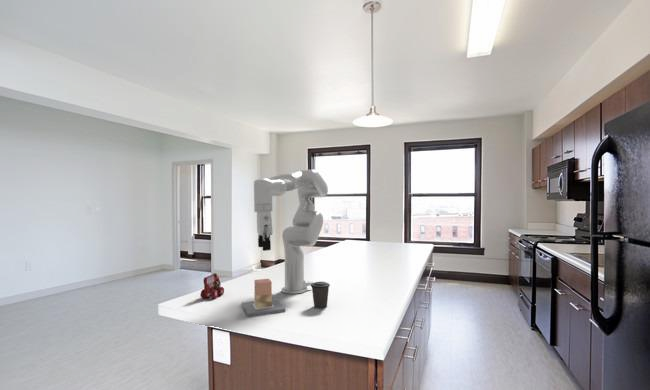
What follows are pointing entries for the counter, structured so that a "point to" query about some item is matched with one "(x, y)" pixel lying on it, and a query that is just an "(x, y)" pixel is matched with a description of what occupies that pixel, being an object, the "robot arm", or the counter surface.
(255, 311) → the baseplate
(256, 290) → the terracotta brick
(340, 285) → the counter surface
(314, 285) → the coffee cup
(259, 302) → the oak brick
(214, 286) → the toy fire truck
